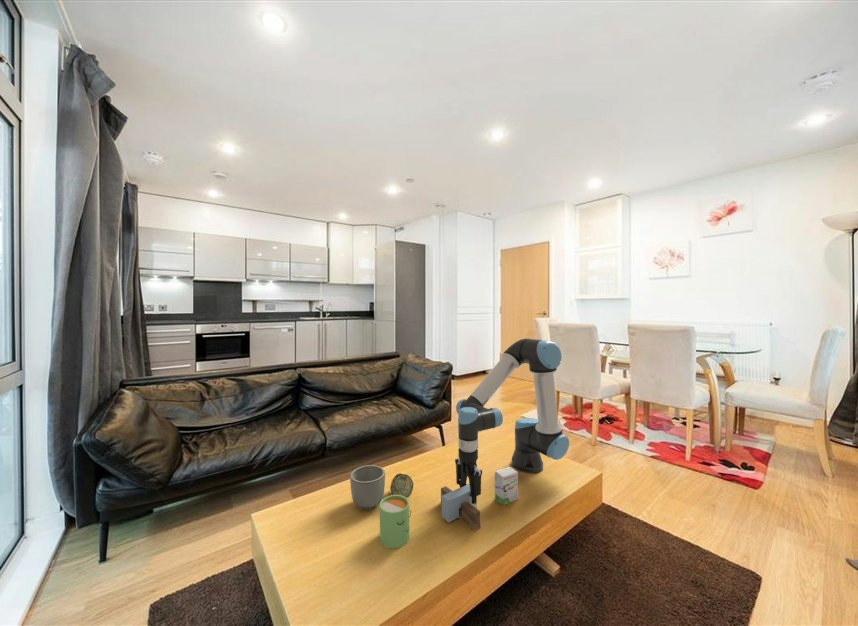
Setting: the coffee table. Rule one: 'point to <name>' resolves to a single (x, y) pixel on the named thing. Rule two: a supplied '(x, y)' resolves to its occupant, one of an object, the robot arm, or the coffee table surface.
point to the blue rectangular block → (454, 502)
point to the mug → (394, 521)
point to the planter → (367, 486)
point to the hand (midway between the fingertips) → (468, 507)
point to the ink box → (506, 485)
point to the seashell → (401, 485)
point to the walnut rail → (466, 511)
